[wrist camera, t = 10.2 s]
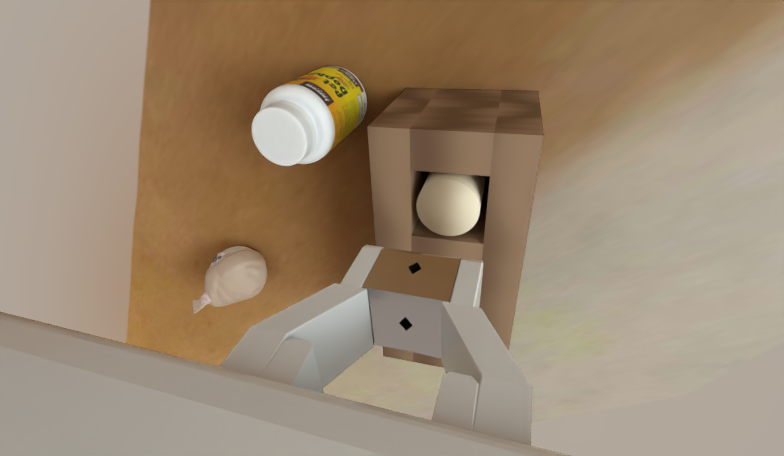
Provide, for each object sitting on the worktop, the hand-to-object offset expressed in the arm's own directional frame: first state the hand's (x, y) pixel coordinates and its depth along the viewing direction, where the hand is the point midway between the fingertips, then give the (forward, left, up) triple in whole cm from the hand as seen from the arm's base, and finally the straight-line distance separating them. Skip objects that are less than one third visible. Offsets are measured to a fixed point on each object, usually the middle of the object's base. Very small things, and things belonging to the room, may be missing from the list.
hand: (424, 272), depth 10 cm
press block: (+1, +11, -25) cm, 27 cm away
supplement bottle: (+12, +2, -25) cm, 28 cm away
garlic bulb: (+25, +21, -25) cm, 41 cm away
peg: (+1, +6, -23) cm, 24 cm away
